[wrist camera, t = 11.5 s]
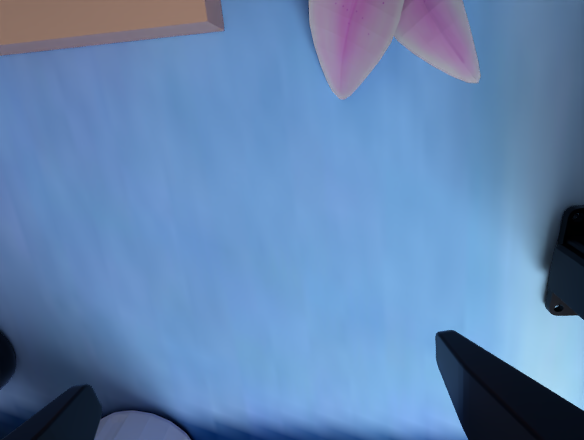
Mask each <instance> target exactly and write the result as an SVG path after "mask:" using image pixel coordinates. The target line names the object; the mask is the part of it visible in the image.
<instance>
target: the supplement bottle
mask: <svg viewBox="0 0 584 440" xmlns="http://www.w3.org/2000/svg"><path fill="white" fill-rule="evenodd" d="M15 368H16V357H15V353H14V350H13V348H12V346H11V344H10V343H9V341H8V340H7V339H6V338H5V336H4V335H3V334H2V333H1V332H0V390H1V389H2V388H3V387H4V386H5V385H6V384H7V383H8V382H9V381H10V379H11V378H12V376H13V374H14V372H15Z"/></svg>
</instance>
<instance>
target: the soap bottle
mask: <svg viewBox="0 0 584 440" xmlns="http://www.w3.org/2000/svg"><path fill="white" fill-rule="evenodd" d="M94 440H191V439H190V438H189V436H188V435H187V433H185V432H184V431H183V430H182V429H180V428H179V427H178V426H176V425H175V424H174V423H172V422H171V421H169V420H167V419H164V418H162V417H160V416H157V415H155V414H153V413H147V412H141V411H134V410H130V411H121V412H114V413H112V414H110V415H108V416H106V417H104V418H102V419H101V420H100V423H99V426H98V429H97V432H96V435H95V438H94Z"/></svg>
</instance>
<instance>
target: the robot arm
mask: <svg viewBox="0 0 584 440" xmlns="http://www.w3.org/2000/svg"><path fill="white" fill-rule="evenodd" d="M576 213H579V215H578V217H577V218H575V219H573V216H574V215H575V214H576ZM547 286H548V293H547V298H546V303H545V307H546V309H547V310H548V311H549V312H550V313H551V314H553V315H556V316H569V315H579V316H580V317H581V318H582V319H583V320H584V205H578V206H571V207H569V208H567V209H566V211H565V212H564V214H563V217H562V222H561V227H560V233H559V238H558V243H557V246H556V247H555V249H554V255H553V260H552V265H551V270H550V275H549V280H548V285H547ZM556 305H559V306H558V307H556V308H554V307H555V306H556ZM435 341H436V361H437V365H438V368H439V370H440V373H441V375H442V378H443V380H444V383H445V385H446V388H447V390H448V393H449V395H450V398H451V400H452V403H453V405H454V408H455V410H456V413H457V415H458V418H459V420H460V423H461V425H462V427H463V430H464V432H465V434H466V436H467V438H468V440H584V411H583V410H581V409H580V408H578V407H577V406H575V405H573V404H572V403H570V402H569V401H567V400H565V399H564V398H562V397H561V396H559V395H557V394H556V393H554V392H552V391H551V390H549V389H548V388H546V387H544V386H543V385H541V384H540V383H538V382H536V381H535V380H533V379H531V378H530V377H528V376H527V375H525V374H523V373H522V372H520V371H519V370H517V369H515V368H514V367H512V366H511V365H509V364H507V363H506V362H504V361H502V360H501V359H499V358H498V357H496V356H494V355H493V354H491V353H490V352H488V351H486V350H485V349H483V348H482V347H480V346H478V345H477V344H475V343H473V342H472V341H470V340H469V339H467V338H465V337H464V336H462V335H461V334H459V333H457V332H456V331H453V330H447V331H440V332H437V333H436V336H435ZM101 416H102V406H101V404H100V402H99V400H98V398H97V396H96V394H95V392H94V390H93V388H92V386H90V385H89V384H83V385H76V386H73V387H71V388H69V389H68V390H67V391H65V392H64V393H63V394H61V395H60V396H59V397H57V398H56V399H55V400H53V401H52V402H51V403H49V404H48V405H47V406H45V407H44V408H43V409H42V410H40V411H39V412H38V413H36V414H35V415H34V416H32V417H31V418H30V419H28V420H27V421H26V422H24V423H23V424H22V425H20V426H19V427H18V428H16V429H15V430H14V431H13V432H11V433H10V434H9V435H7V436H6V437H5V438H3V439H2V440H94V438H95V435H96V432H97V429H98V426H99V423H100V420H101Z"/></svg>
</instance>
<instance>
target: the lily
mask: <svg viewBox="0 0 584 440" xmlns="http://www.w3.org/2000/svg"><path fill="white" fill-rule="evenodd" d="M309 23H310V28H311V33H312V37H313V42H314V46H315V49H316V52H317V55H318V58H319V62H320V65H321V67H322V70H323V72H324V75H325V77H326V80H327V82H328V84H329V86H330V88H331V90H332V92H333V93H334V94H335V95H336V96H337V97H338V98H339V99H343V100H344V99H346V98H347V97H349V96H351V95H352V93H353V92H354V91H355V90H356V89H357V88H358V87H359V86H360V85H361V83H362V82H363V81H364V80H365V79H366V77H367V76H368V75H369V74H370V72H371V71H372V70H373V68H374V67H375V66H376V65H377V63H378V62H379V61H380V59H381V58H382V56H383V55H384V53H385V51H386V50H387V48H388V47H389V45H390V43H391V41H392V39H393V36H394V37H395V38H396V39H397V41H398V42H400V43H401V44H402V45H403V46H405V47H406V48H407V49H408V50H410V51H411V52H412V53H413V54H415V55H416V56H418V57H419V58H421V59H423V60H424V61H426V62H427V63H429V64H430V65H432V66H433V67H435V68H437V69H439V70H441V71H443V72H445V73H447V74H448V75H450V76H452V77H454V78H457V79H460V80H462V81H465V82H467V83H478V82H479V79H480V77H481V75H480V69H479V63H478V59H477V54H476V50H475V46H474V41H473V37H472V33H471V30H470V26H469V22H468V18H467V15H466V11H465V8H464V4H463V1H462V0H309Z"/></svg>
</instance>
